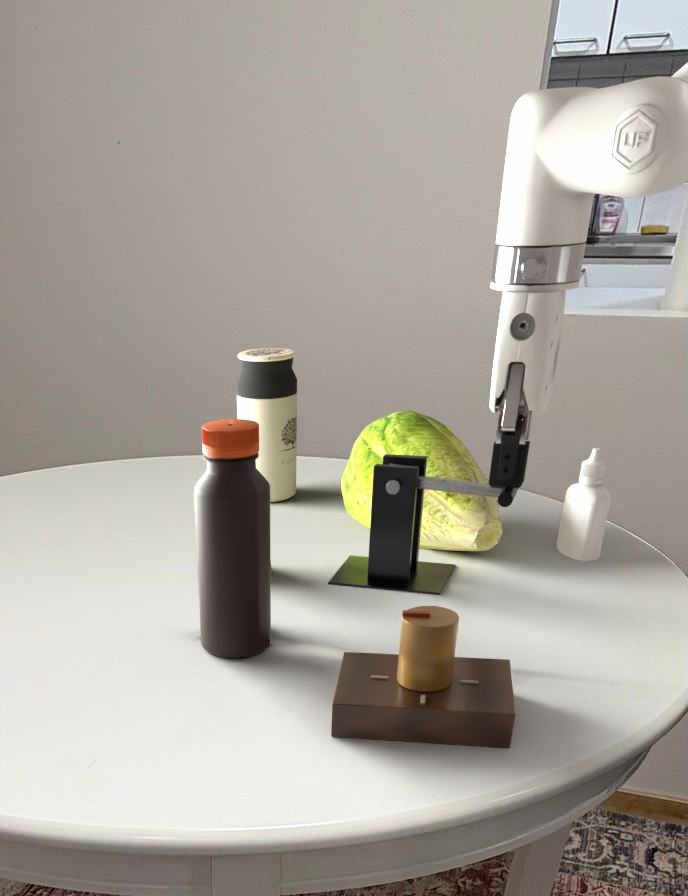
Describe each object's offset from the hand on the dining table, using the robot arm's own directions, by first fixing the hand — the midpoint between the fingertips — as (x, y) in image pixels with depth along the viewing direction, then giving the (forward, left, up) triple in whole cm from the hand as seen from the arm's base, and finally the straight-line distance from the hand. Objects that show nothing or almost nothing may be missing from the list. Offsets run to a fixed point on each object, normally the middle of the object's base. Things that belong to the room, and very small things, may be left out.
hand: (505, 484), depth 94 cm
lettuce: (+7, -16, -11) cm, 21 cm away
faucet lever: (+5, -1, -2) cm, 6 cm away
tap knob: (+6, +28, -8) cm, 30 cm away
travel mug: (+29, -35, -11) cm, 47 cm away
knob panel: (+6, +28, -11) cm, 31 cm away
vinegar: (+24, +16, -11) cm, 31 cm away
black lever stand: (+10, -2, -11) cm, 15 cm away
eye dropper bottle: (-10, -11, -11) cm, 18 cm away
